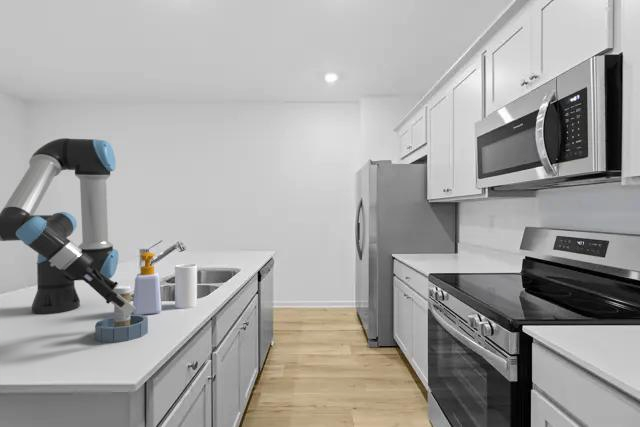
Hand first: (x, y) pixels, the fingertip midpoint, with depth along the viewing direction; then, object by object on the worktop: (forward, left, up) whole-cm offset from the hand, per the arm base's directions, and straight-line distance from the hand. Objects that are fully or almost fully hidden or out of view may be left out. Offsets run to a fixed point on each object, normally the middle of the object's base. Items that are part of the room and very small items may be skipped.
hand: (130, 306), depth 116 cm
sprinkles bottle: (-1, -2, -7) cm, 8 cm away
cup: (-15, +30, -8) cm, 34 cm away
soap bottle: (-17, +15, -8) cm, 24 cm away
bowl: (-1, -2, -8) cm, 8 cm away
